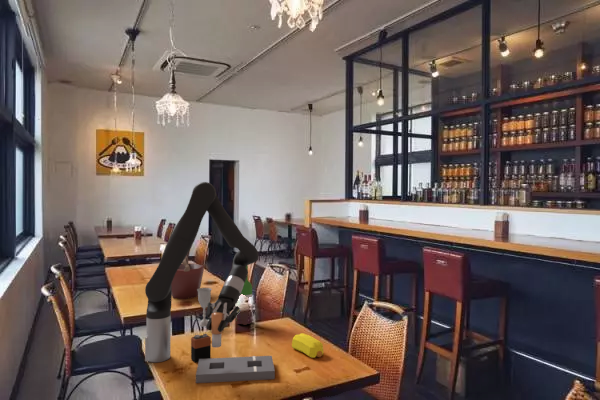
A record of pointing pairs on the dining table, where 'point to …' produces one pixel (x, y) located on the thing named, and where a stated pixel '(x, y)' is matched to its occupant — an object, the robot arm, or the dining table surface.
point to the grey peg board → (235, 369)
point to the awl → (216, 329)
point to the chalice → (204, 302)
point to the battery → (200, 347)
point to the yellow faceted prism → (307, 345)
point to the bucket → (187, 280)
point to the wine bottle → (247, 287)
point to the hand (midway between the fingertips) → (214, 329)
